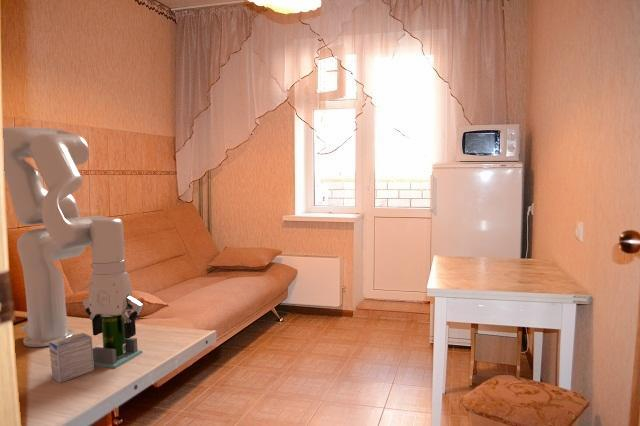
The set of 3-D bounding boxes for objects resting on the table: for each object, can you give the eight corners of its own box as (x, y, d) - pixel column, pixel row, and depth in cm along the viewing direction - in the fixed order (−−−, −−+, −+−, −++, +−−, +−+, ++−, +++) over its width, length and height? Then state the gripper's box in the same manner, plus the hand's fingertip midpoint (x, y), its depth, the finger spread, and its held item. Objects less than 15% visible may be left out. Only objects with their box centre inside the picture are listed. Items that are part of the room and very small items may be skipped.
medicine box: (85, 367, 118) (83, 332, 117) (94, 371, 115) (92, 335, 115) (51, 378, 112) (48, 342, 111) (60, 383, 109) (57, 346, 108)
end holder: (88, 364, 119) (87, 349, 119) (117, 350, 129) (115, 335, 128) (115, 368, 117) (114, 352, 116) (142, 352, 126) (141, 337, 126)
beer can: (129, 351, 126) (126, 305, 125) (124, 359, 121) (121, 311, 120) (107, 353, 125) (104, 307, 124) (101, 361, 120) (98, 313, 119)
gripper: (69, 269, 120) (75, 337, 121) (128, 272, 114) (133, 343, 116) (92, 263, 127) (97, 327, 128) (148, 266, 121) (153, 332, 123)
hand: (114, 335), depth 122 cm, fingers open, 9 cm apart
